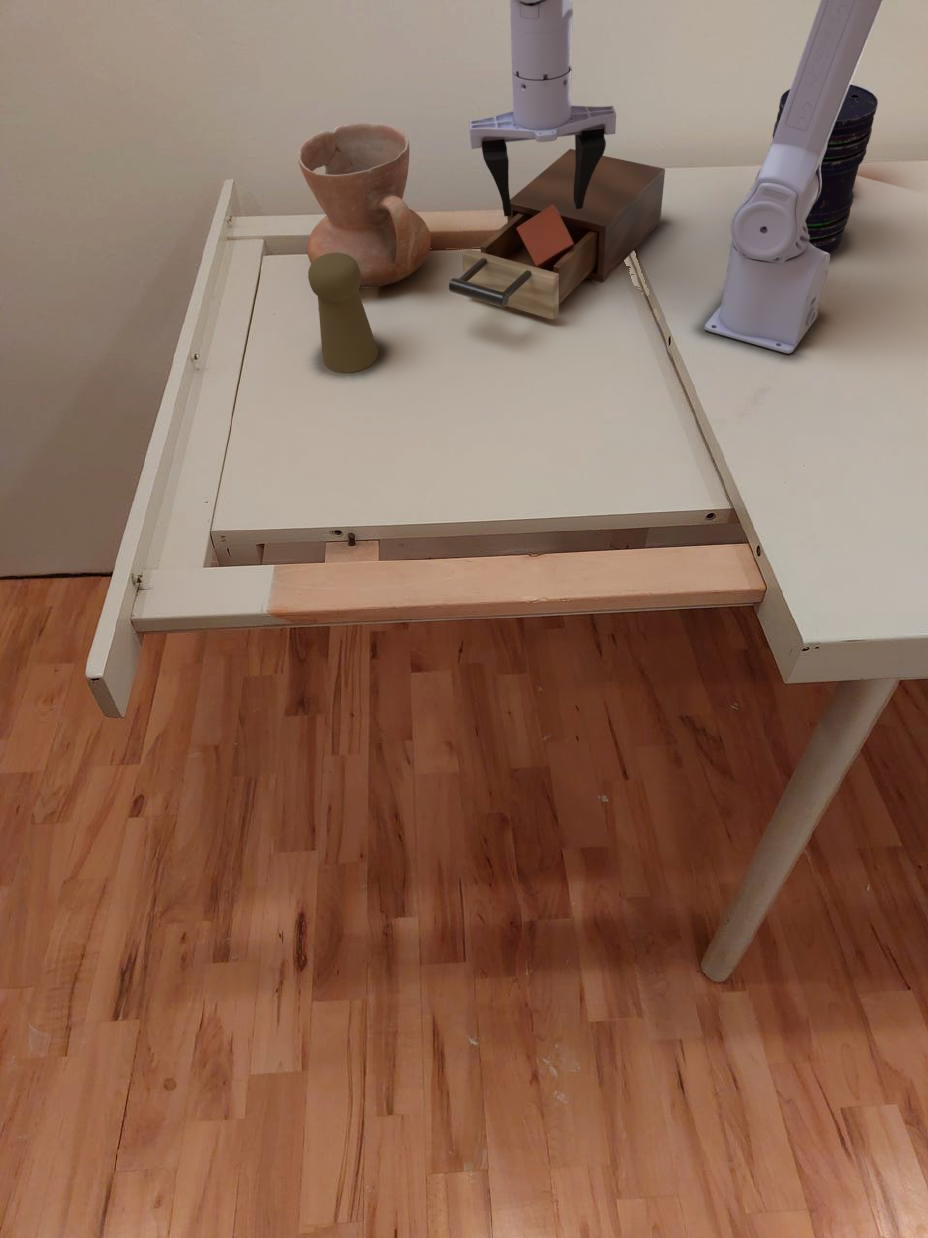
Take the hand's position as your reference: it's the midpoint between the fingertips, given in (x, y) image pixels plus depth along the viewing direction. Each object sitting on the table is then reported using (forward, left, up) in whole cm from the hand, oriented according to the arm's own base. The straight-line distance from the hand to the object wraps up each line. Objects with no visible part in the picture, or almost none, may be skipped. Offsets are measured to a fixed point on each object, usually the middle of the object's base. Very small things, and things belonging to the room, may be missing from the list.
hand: (542, 207), depth 96 cm
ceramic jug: (+19, +7, -9) cm, 22 cm away
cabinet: (0, -10, -8) cm, 13 cm away
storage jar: (-22, -21, -9) cm, 32 cm away
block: (0, -1, -4) cm, 4 cm away
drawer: (0, +4, -8) cm, 9 cm away
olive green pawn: (+11, +22, -9) cm, 26 cm away
